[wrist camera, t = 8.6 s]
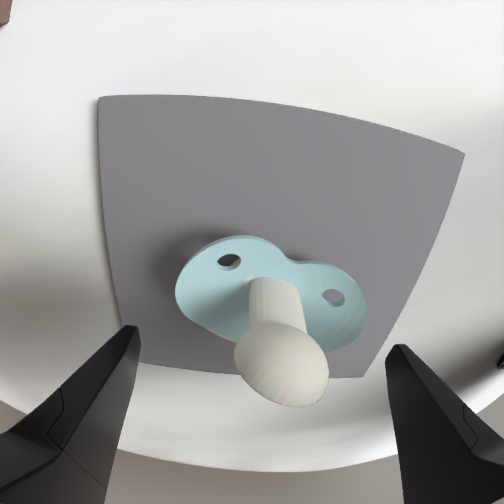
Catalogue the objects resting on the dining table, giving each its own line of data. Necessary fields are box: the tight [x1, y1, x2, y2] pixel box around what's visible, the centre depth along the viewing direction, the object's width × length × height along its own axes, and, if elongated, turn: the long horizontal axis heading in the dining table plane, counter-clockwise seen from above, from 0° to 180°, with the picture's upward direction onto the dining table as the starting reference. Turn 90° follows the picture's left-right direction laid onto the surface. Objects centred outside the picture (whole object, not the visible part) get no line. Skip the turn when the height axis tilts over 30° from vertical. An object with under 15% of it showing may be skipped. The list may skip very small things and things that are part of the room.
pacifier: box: [175, 235, 367, 407], centre depth 11 cm, size 7×6×6 cm
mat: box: [99, 95, 465, 378], centre depth 13 cm, size 14×14×1 cm
